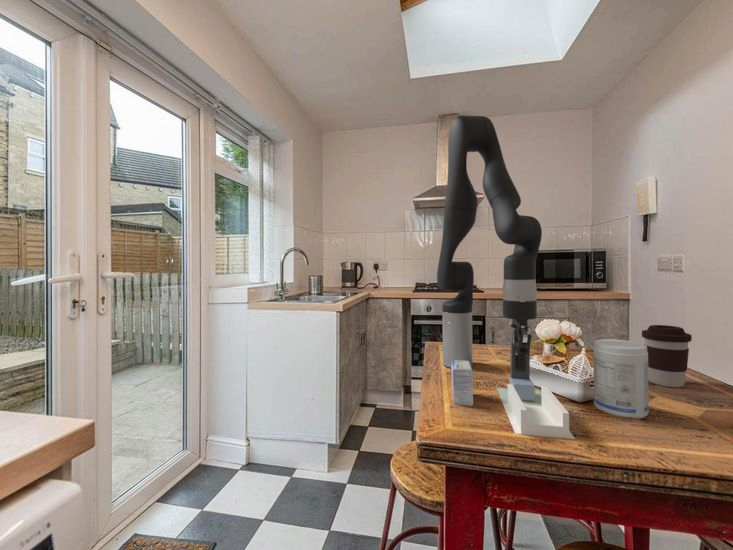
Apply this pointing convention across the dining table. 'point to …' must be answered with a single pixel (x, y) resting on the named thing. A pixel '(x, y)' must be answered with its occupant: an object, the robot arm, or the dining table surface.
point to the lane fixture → (536, 413)
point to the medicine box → (462, 383)
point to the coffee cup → (667, 354)
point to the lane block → (521, 378)
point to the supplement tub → (621, 377)
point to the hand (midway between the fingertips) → (519, 369)
